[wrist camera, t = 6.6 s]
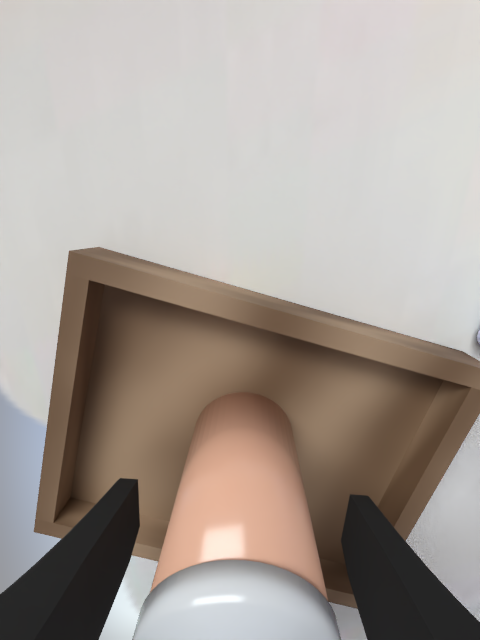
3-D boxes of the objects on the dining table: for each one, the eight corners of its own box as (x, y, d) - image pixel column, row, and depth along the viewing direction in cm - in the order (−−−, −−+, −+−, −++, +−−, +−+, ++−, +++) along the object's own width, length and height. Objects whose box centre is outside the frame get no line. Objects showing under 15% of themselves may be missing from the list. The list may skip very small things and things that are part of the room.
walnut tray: (462, 351, 14) (502, 374, 11) (350, 563, 17) (365, 610, 15) (98, 247, 13) (68, 250, 11) (61, 492, 16) (33, 531, 14)
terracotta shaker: (294, 388, 13) (354, 602, 6) (294, 476, 15) (344, 747, 7) (187, 392, 14) (107, 604, 6) (197, 478, 15) (142, 745, 7)
